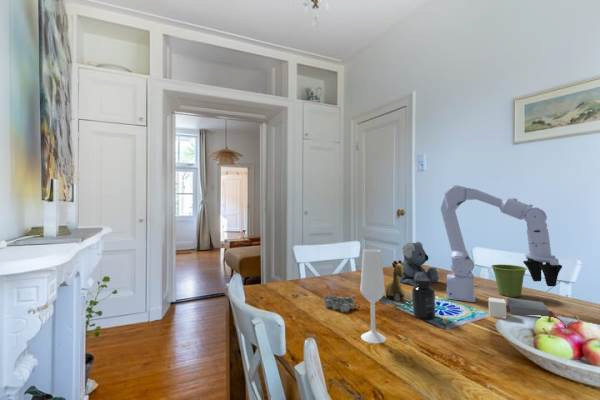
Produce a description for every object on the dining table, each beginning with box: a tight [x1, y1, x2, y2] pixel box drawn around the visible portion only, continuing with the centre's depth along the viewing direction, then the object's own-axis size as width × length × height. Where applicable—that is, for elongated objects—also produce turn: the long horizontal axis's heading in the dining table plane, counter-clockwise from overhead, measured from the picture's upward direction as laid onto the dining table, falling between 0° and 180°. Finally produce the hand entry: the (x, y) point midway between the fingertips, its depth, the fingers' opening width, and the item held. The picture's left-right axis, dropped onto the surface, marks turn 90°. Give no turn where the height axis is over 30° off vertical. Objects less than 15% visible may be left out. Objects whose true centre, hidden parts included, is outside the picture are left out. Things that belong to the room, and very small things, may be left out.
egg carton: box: [322, 294, 356, 313], centre depth 106 cm, size 11×8×4 cm
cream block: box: [488, 297, 507, 319], centre depth 96 cm, size 4×4×5 cm
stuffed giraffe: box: [378, 259, 413, 307], centre depth 116 cm, size 16×18×16 cm
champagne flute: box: [359, 248, 387, 344], centre depth 81 cm, size 7×7×24 cm
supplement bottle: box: [411, 278, 436, 320], centre depth 97 cm, size 7×7×12 cm
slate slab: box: [506, 297, 550, 317], centre depth 100 cm, size 10×10×3 cm
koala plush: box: [399, 241, 439, 287], centre depth 141 cm, size 17×18×20 cm
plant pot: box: [490, 264, 528, 298], centre depth 119 cm, size 12×12×11 cm
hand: (544, 283), depth 99 cm, fingers open, 7 cm apart
